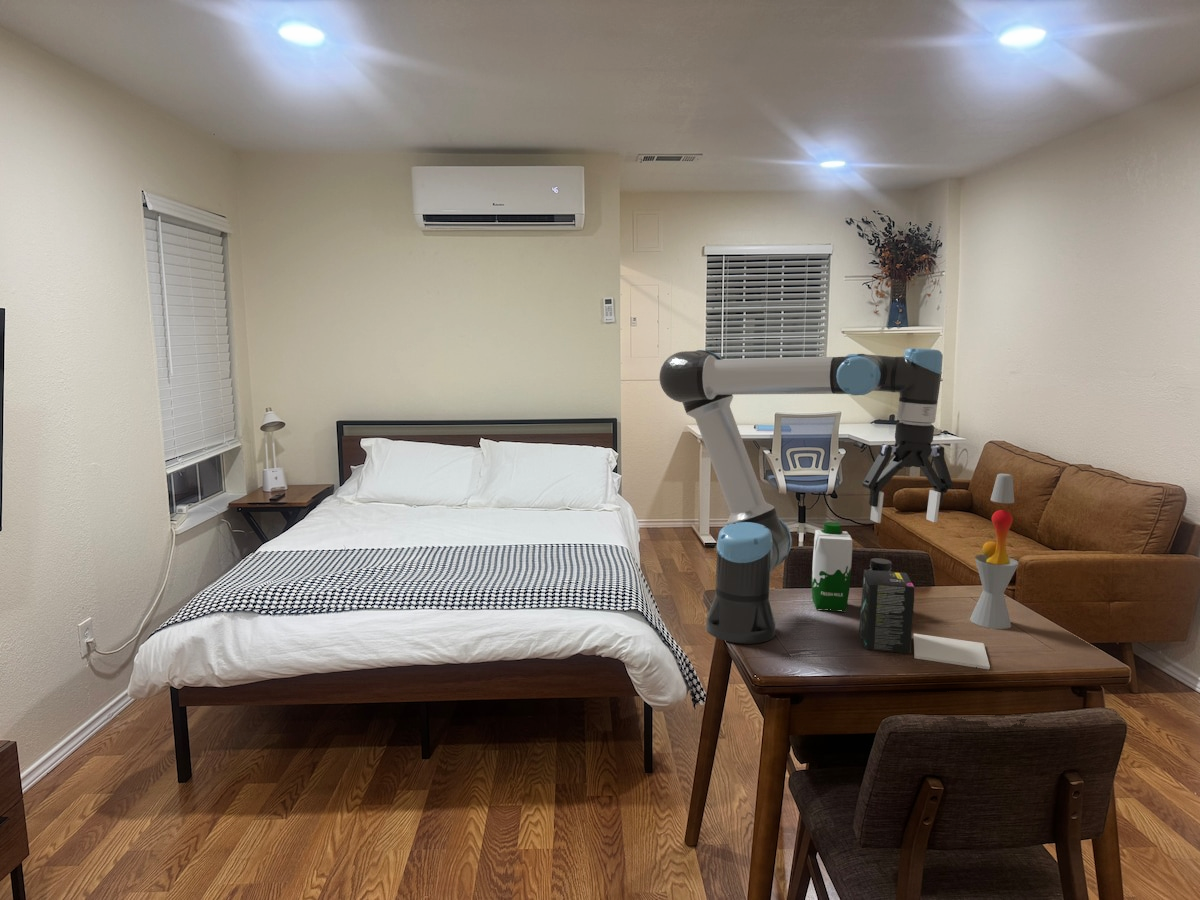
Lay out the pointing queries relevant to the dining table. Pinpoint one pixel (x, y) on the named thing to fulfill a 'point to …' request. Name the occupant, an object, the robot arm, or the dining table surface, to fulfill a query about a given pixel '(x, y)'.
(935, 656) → the mat
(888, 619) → the tampon box
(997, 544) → the lava lamp
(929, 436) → the robot arm
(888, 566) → the supplement bottle
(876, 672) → the dining table surface
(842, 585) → the milk carton
